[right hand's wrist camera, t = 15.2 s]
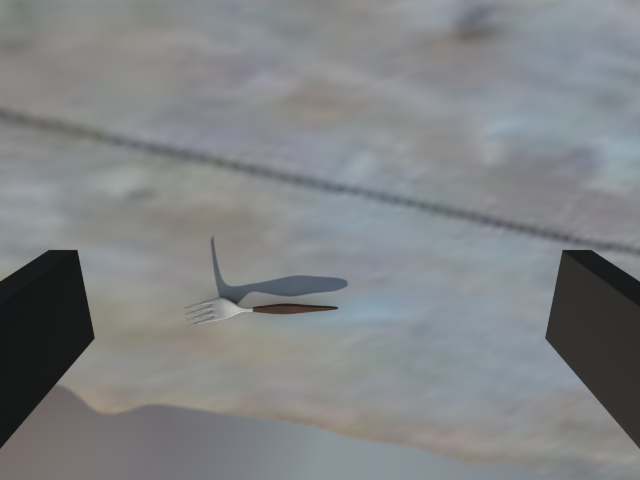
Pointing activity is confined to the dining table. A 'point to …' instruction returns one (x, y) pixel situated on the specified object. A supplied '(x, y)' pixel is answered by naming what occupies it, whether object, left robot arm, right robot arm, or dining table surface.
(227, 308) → the fork
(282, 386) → the dining table surface
